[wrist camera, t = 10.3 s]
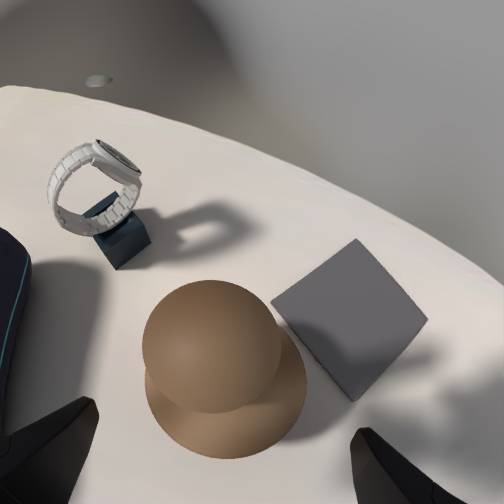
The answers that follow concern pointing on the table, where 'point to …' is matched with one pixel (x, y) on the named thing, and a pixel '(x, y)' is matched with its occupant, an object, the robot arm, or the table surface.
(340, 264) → the mat
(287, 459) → the table surface
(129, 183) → the watch
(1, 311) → the portable speaker
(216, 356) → the lid
